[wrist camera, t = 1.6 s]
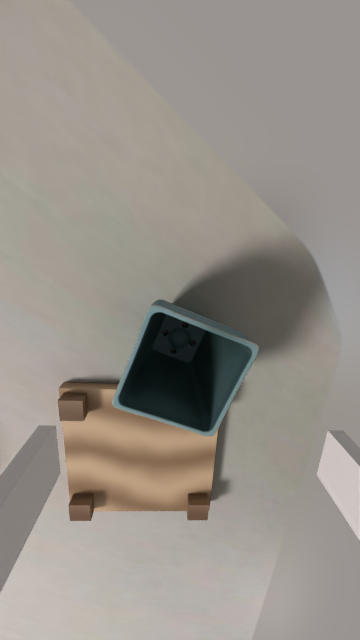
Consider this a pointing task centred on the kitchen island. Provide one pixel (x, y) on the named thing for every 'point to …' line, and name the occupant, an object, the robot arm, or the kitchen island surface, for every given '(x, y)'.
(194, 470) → the trivet
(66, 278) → the kitchen island surface
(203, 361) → the flower pot
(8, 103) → the kitchen island surface
